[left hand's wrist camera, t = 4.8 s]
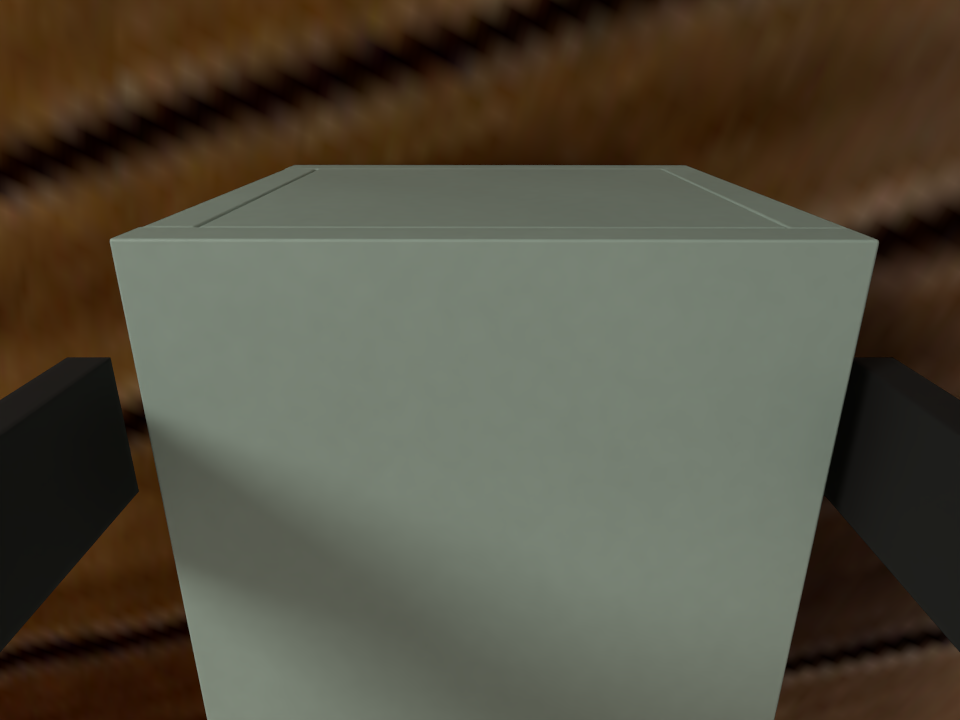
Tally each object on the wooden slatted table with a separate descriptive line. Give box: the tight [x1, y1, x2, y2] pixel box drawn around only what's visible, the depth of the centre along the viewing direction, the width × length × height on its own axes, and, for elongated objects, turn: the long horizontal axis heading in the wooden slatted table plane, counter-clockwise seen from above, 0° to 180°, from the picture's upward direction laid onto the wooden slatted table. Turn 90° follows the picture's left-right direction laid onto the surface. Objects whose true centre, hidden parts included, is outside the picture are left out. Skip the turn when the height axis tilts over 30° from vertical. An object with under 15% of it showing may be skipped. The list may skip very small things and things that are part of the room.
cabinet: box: [110, 165, 879, 720], centre depth 19 cm, size 21×11×10 cm, turn 0°
